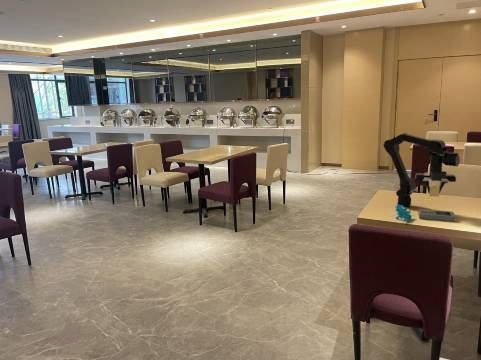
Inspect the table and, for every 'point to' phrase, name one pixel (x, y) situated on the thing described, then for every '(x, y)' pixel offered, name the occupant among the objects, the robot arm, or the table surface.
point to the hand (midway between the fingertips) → (433, 193)
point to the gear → (403, 213)
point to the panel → (436, 215)
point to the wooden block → (434, 190)
